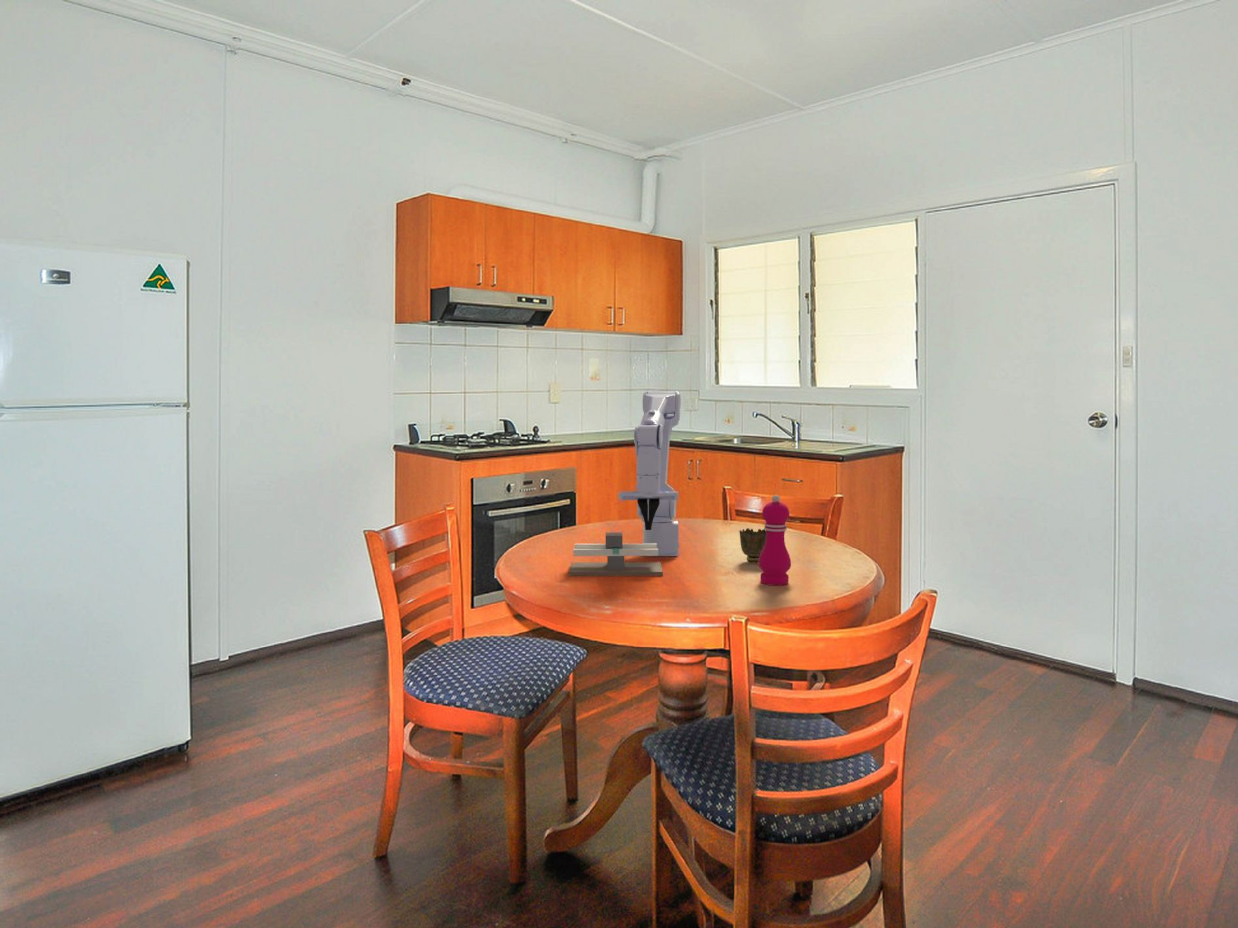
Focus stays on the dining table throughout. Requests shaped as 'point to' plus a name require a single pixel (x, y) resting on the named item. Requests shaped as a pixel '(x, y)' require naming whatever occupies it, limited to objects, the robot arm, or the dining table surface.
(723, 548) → the dining table surface
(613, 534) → the rider
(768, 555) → the pepper mill
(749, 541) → the cup
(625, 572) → the balance stand
